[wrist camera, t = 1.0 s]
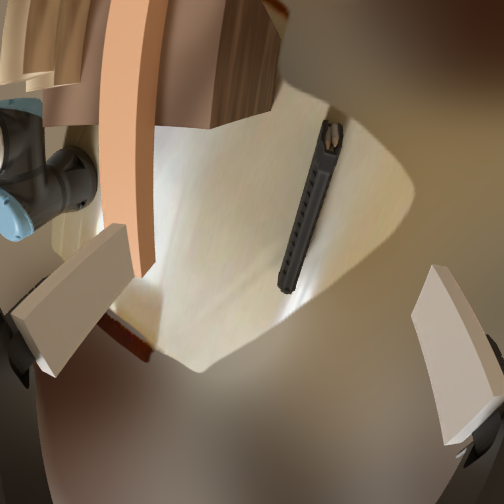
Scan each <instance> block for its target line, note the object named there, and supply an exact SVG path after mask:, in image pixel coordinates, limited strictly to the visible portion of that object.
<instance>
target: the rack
mask: <svg viewBox="0 0 504 504" xmlns="http://www.w3.org/2000/svg"><path fill="white" fill-rule="evenodd" d="M110 4H111V0H9V1H8V6H7V12H6V17H5V23H4V31H3V39H2V48H1V61H0V85H3V84H8V83H14V82H21V81H26V92H28V91H34V90H40V89H43V127H52V126H69V125H99V102H100V83H101V70H102V59H103V50H104V42H105V34H106V27H107V21H108V15H109V9H110ZM280 40H281V39H280V37H279V35H278V33H277V31H276V29H275V27H274V25H273V23H272V21H271V19H270V17H269V15H268V13H267V11H266V9H265V7H264V5H263V4H262V2H261V0H169V1H168V7H167V13H166V19H165V25H164V32H163V39H162V47H161V55H160V64H159V74H158V84H157V96H156V111H155V125H156V126H174V127H188V128H200V129H212V128H215V127H218V126H221V125H224V124H227V123H231V122H234V121H237V120H240V119H244V118H247V117H250V116H254V115H257V114H261V113H265V112H268V111H271V104H272V97H273V90H274V83H275V76H276V68H277V61H278V54H279V47H280Z"/></svg>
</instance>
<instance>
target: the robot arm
mask: <svg viewBox="0 0 504 504" xmlns="http://www.w3.org/2000/svg"><path fill="white" fill-rule="evenodd" d="M44 134H45V133H44V127H43V103H42V101H41V100H40V99H37V98H15V99H8V100H1V101H0V233H1V234H2V235H3V236H4V237H5V238H7V239H9V240H11V241H19V240H22V239H23V238H25V237H27V236H28V235H31V234H33V232H34V231H36V230H37V229H39V228H40V227H41V226H43V225H44V224H46V223H47V222H49V221H50V220H52V219H53V218H55V217H56V216H58V215H59V214H61V213H68V212H75V211H79V210H81V209H83V208H85V207H86V206H88V205H89V204H90V203H91V202H92V200H93V199H94V197H95V194H96V190H97V176H96V172H95V168H94V166H93V163H92V161H91V160H90V158H89V157H88V155H87V154H86V153H85V152H84V151H82V150H81V149H79V148H77V147H66V148H63V149H60V150H59V151H57V152H56V153H54V154H53V155H52V156H51V157H50V158H49V159H48V160H47V161H46V158H45V136H44ZM134 277H135V275H134V270H133V265H132V259H131V253H130V247H129V241H128V235H127V228H126V225H125V224H117V223H112V224H111V225H109V226H108V227H107V228H105V229H104V230H103V231H102V232H100V233H99V234H98V235H97V236H95V237H94V238H93V239H92V240H90V241H89V242H88V243H87V244H86V245H84V246H83V247H82V248H81V249H80V250H78V251H77V252H76V253H75V254H74V255H72V256H71V257H70V258H69V259H68V260H67V261H66V262H64V263H63V264H62V265H61V266H60V267H59V268H58V269H56V270H55V271H54V272H53V273H52V274H50V275H49V276H47V277H45V278H43V279H42V280H41V281H40V282H39V283H38V284H37V285H36V286H35V288H32V289H31V290H30V291H29V292H28V294H26V295H25V296H24V297H23V298H22V299H21V300H20V301H19V302H18V303H17V304H16V305H15V306H14V307H13V308H12V309H11V310H10V311H9V312H8V313H7V314H6V315H5V316H4V315H3V313H2V310H1V308H0V504H53V502H52V498H51V494H50V490H49V486H48V482H47V477H46V473H45V467H44V462H43V457H42V451H41V444H40V437H39V430H38V421H37V411H36V395H35V371H34V368H33V366H32V363H33V362H34V361H35V360H36V362H37V363H38V365H39V366H40V368H41V370H42V371H44V372H46V373H48V374H50V375H52V376H53V377H55V378H56V377H57V375H58V374H59V373H60V371H61V370H62V368H63V367H64V366H65V364H66V363H67V361H68V360H69V359H70V357H71V356H72V355H73V353H74V352H75V351H76V349H77V348H78V347H79V345H80V344H81V343H82V341H83V340H84V338H85V337H86V336H87V335H88V333H89V332H90V331H91V330H92V328H93V327H94V326H95V324H96V323H97V322H98V321H99V319H100V318H101V317H102V316H103V314H104V313H105V312H106V311H107V309H108V308H109V307H110V306H111V304H112V303H113V302H114V301H115V299H116V298H117V297H118V296H119V295H120V293H121V292H122V291H123V290H124V289H125V287H126V286H127V285H128V284H129V283H130V281H131V280H132V279H133V278H134ZM411 317H412V320H413V323H414V326H415V329H416V332H417V335H418V338H419V342H420V345H421V348H422V352H423V355H424V358H425V362H426V366H427V369H428V373H429V377H430V380H431V385H432V388H433V393H434V397H435V401H436V406H437V410H438V414H439V420H440V425H441V430H442V435H443V441H444V445H450V444H455V443H461V442H463V441H464V440H465V439H466V438H467V437H468V436H470V434H472V436H473V441H472V442H471V443H470V444H469V445H468V446H466V447H465V448H464V449H463V450H461V451H460V452H459V453H458V454H457V456H456V457H457V458H458V457H460V456H461V455H462V454H464V453H465V454H464V456H463V458H462V459H461V461H460V463H459V465H458V467H457V469H456V471H455V473H454V474H453V476H452V478H451V480H450V481H449V483H448V485H447V486H446V488H445V490H444V491H443V493H442V495H441V496H440V498H439V499H438V501H437V502H436V504H504V359H503V357H501V356H502V354H501V352H500V350H499V348H498V346H497V344H496V343H495V342H494V341H493V339H491V337H490V336H489V335H486V334H485V333H484V331H483V329H482V328H481V326H480V324H479V322H478V320H477V318H476V316H475V314H474V312H473V311H472V309H471V307H470V305H469V303H468V302H467V300H466V298H465V296H464V295H463V293H462V291H461V289H460V288H459V286H458V285H457V283H456V281H455V279H454V278H453V276H452V275H451V273H450V271H449V270H448V268H447V267H446V266H440V265H433V264H432V266H431V268H430V271H429V274H428V276H427V279H426V281H425V284H424V286H423V289H422V291H421V294H420V296H419V298H418V301H417V303H416V305H415V308H414V310H413V312H412V314H411Z"/></svg>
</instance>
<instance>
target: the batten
mask: <svg viewBox="0 0 504 504" xmlns="http://www.w3.org/2000/svg"><path fill="white" fill-rule="evenodd" d="M168 1H169V0H111V4H110V9H109V15H108V21H107V27H106V34H105V42H104V50H103V59H102V70H101V83H100V102H99V165H100V185H101V199H102V210H103V220H104V229H105V228H107V227H108V226H109V225H111V224H112V223H117V224H125V225H126V228H127V235H128V241H129V247H130V253H131V259H132V265H133V270H134V275H135V277H138V278H142V277H143V276H144V275H145V274H146V273H147V271H148V270H149V269H150V268H151V267H152V265H153V264H154V263H155V262H156V261H155V242H154V213H153V157H154V129H155V111H156V96H157V84H158V74H159V64H160V55H161V47H162V39H163V32H164V25H165V19H166V13H167V7H168Z"/></svg>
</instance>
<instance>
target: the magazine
mask: <svg viewBox="0 0 504 504" xmlns="http://www.w3.org/2000/svg"><path fill="white" fill-rule="evenodd" d="M342 141H343V126H342V125H341V124H339V123H338V125H337V124H336V123H333V124H330V123H328V120H324V121H323V123H322V126H321V130H320V133H319V137H318V140H317V145H316V148H315V152H314V155H313V159H312V162H311V166H310V169H309V173H308V176H307V180H306V183H305V187H304V190H303V194H302V197H301V201H300V204H299V208H298V211H297V215H296V218H295V222H294V225H293V228H292V232H291V235H290V239H289V242H288V246H287V249H286V253H285V256H284V259H283V263H282V266H281V269H280V272H279V275H278V283H277V286H278V287H279V288H280V289H281V292H284V293H285V294H292V292H293V291H295V289H296V284H297V281H298V278H299V275H300V271H301V268H302V266H303V262H304V259H305V257H306V253H307V250H308V247H309V244H310V241H311V238H312V235H313V232H314V229H315V226H316V223H317V220H318V217H319V214H320V211H321V208H322V204H323V201H324V198H325V196H326V192H327V189H328V187H329V183H330V180H331V177H332V174H333V171H334V168H335V166H336V163H337V160H338V157H339V154H340V151H341V148H342Z"/></svg>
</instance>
